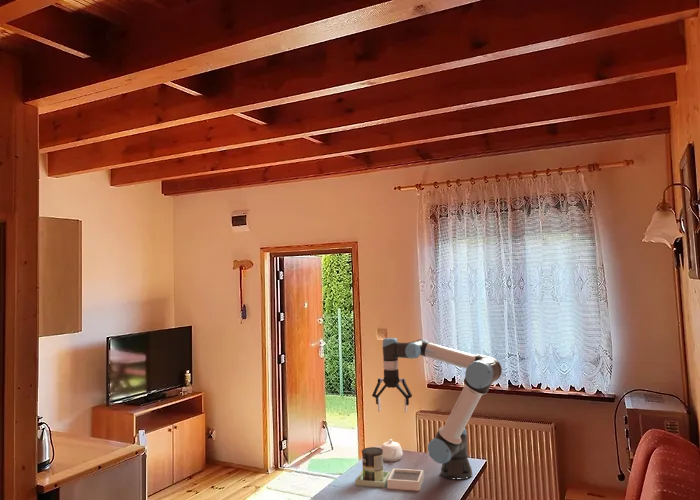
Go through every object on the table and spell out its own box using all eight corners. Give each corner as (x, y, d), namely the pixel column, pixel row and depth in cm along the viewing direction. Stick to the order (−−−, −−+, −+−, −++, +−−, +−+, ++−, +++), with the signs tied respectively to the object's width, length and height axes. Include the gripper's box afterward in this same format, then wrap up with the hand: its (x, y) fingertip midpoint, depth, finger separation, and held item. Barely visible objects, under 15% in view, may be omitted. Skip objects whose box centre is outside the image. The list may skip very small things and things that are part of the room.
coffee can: (364, 484, 250) (363, 454, 251) (361, 476, 260) (360, 447, 261) (385, 483, 251) (384, 453, 252) (382, 475, 261) (381, 446, 262)
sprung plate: (420, 475, 256) (420, 473, 256) (416, 485, 244) (416, 483, 244) (395, 474, 259) (395, 472, 259) (390, 483, 247) (390, 481, 247)
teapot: (407, 464, 278) (406, 444, 279) (384, 466, 276) (384, 446, 276) (398, 452, 298) (397, 433, 298) (376, 454, 296) (375, 435, 296)
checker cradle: (423, 478, 257) (423, 470, 257) (419, 490, 242) (419, 481, 242) (393, 476, 261) (393, 468, 261) (387, 488, 246) (387, 479, 246)
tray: (390, 476, 261) (390, 471, 261) (384, 487, 247) (384, 482, 247) (362, 475, 264) (362, 469, 264) (355, 485, 251) (355, 480, 251)
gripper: (416, 367, 268) (418, 410, 267) (368, 367, 275) (370, 408, 274) (414, 370, 261) (416, 413, 260) (365, 369, 268) (367, 412, 266)
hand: (392, 411), depth 267 cm, fingers open, 13 cm apart
